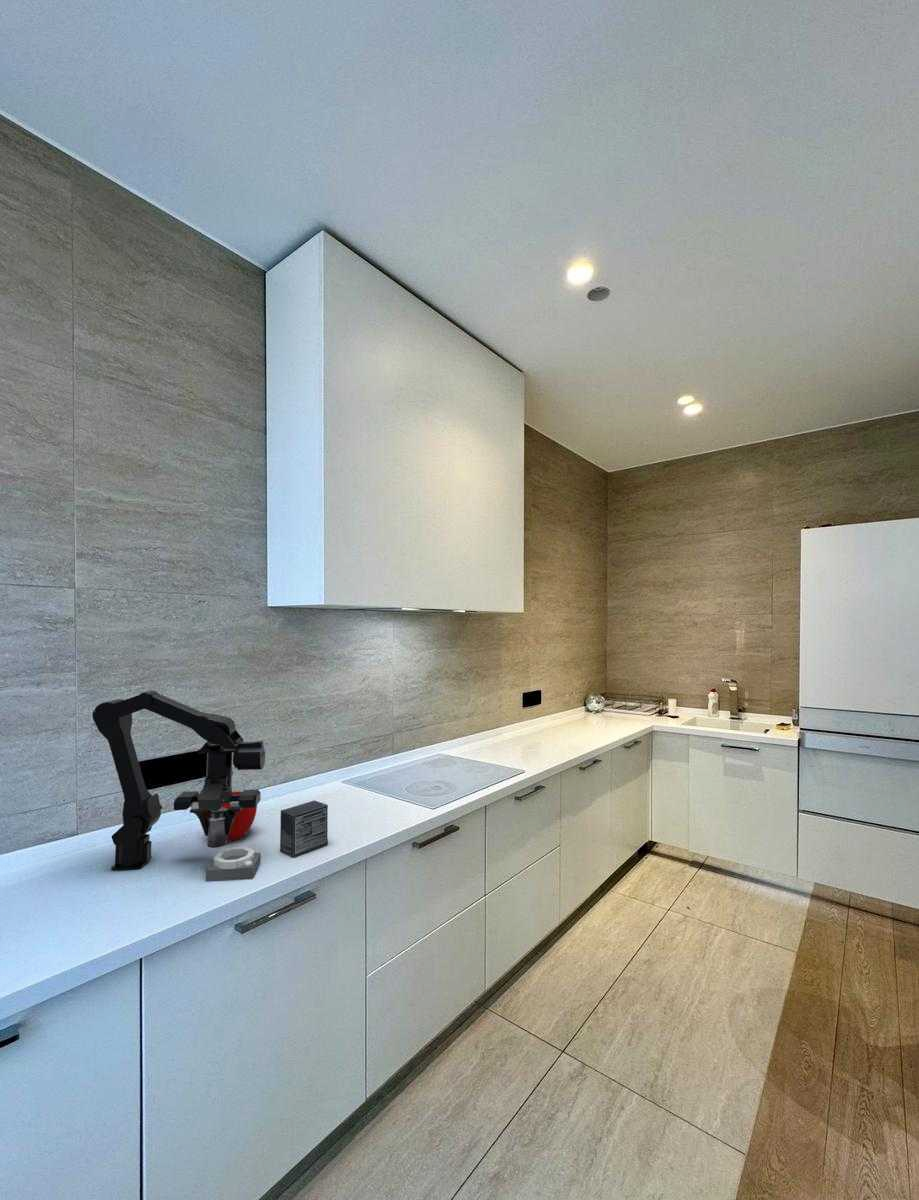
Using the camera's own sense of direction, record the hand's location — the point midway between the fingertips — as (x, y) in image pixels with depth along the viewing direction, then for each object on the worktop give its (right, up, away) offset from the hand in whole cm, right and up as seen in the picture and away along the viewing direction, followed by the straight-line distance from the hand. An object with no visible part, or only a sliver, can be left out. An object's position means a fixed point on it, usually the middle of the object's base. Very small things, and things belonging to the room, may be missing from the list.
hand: (217, 835), depth 131 cm
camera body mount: (+7, -6, -6) cm, 11 cm away
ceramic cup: (-3, -7, +16) cm, 18 cm away
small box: (+19, -7, +7) cm, 21 cm away
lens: (0, -2, 0) cm, 2 cm away
